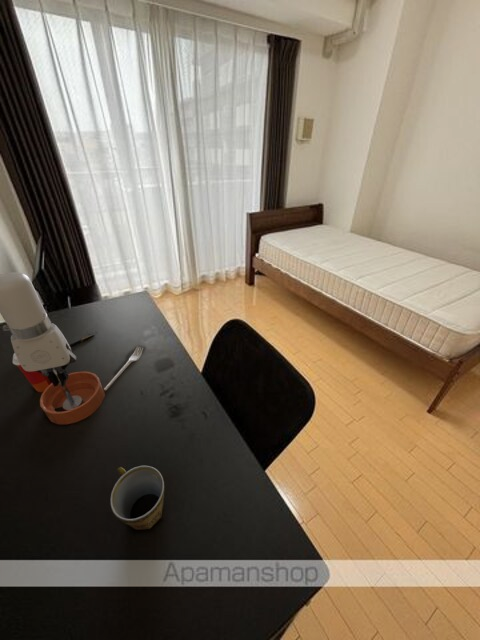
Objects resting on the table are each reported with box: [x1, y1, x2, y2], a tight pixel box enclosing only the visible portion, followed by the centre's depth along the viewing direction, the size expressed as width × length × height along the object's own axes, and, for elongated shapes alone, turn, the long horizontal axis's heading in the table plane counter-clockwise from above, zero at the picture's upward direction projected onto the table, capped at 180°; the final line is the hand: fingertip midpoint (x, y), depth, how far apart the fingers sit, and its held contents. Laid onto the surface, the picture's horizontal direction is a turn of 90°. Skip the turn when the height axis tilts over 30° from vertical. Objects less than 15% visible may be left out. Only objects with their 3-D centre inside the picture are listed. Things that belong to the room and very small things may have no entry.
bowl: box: [39, 371, 106, 425], centre depth 82 cm, size 15×15×6 cm
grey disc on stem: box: [51, 367, 85, 411], centre depth 77 cm, size 5×5×16 cm
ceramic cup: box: [109, 465, 165, 531], centre depth 58 cm, size 13×10×10 cm
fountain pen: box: [69, 334, 95, 348], centre depth 106 cm, size 14×1×2 cm, turn 135°
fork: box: [103, 345, 144, 392], centre depth 95 cm, size 3×20×2 cm, turn 163°
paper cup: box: [12, 352, 52, 393], centre depth 86 cm, size 8×8×14 cm
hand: (61, 381), depth 75 cm, fingers closed on grey disc on stem, 1 cm apart
